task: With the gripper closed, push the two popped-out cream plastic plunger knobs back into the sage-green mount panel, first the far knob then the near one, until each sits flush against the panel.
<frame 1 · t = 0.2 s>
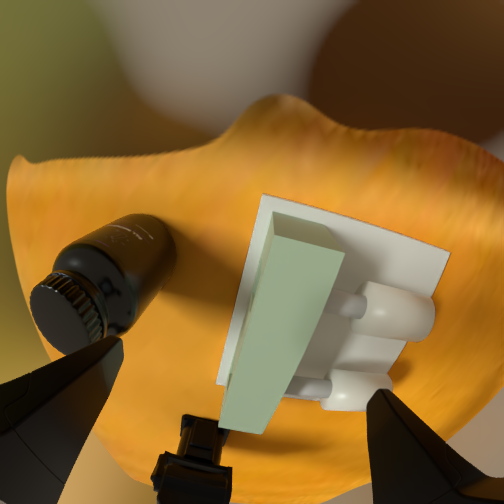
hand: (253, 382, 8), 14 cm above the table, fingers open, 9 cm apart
knob a: (330, 389, 22), point 4 cm above the table, slide at 5.0 cm
mount: (320, 323, 24), on the table
knob b: (363, 307, 19), point 4 cm above the table, slide at 4.0 cm
supplement bottle: (143, 249, 23), on the table
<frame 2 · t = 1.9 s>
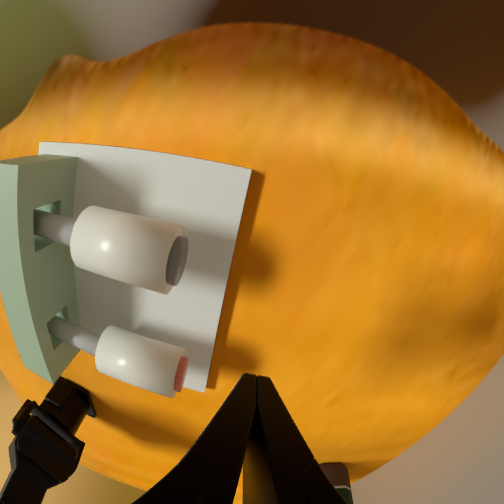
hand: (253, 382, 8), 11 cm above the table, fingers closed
beer bottle: (322, 469, 31), on the table
knob a: (109, 349, 18), point 4 cm above the table, slide at 5.0 cm
mount: (106, 271, 20), on the table
knob b: (91, 237, 15), point 4 cm above the table, slide at 4.0 cm
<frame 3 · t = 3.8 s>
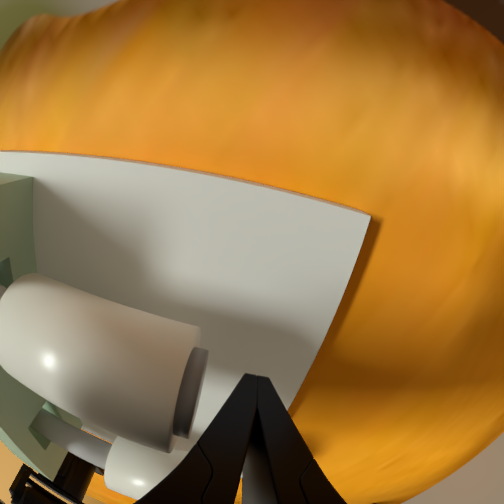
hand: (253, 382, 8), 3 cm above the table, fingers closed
knob a: (120, 462, 10), point 4 cm above the table, slide at 5.0 cm
mount: (100, 354, 12), on the table
knob b: (33, 329, 7), point 4 cm above the table, slide at 2.5 cm, touching gripper
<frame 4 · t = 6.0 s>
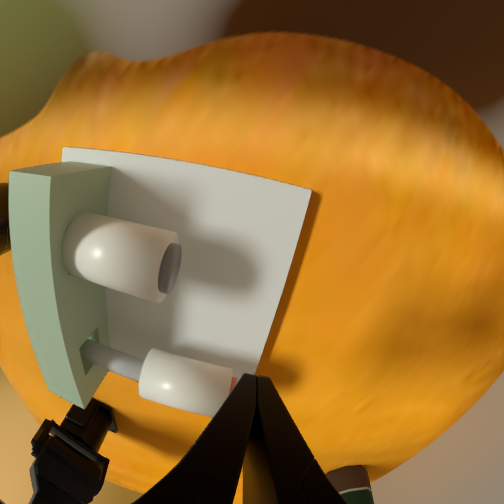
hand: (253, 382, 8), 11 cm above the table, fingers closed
beer bottle: (343, 472, 30), on the table
knob a: (150, 373, 17), point 4 cm above the table, slide at 5.0 cm
mount: (143, 290, 20), on the table
knob b: (83, 244, 14), point 4 cm above the table, slide at 0.0 cm, touching mount
supplement bottle: (9, 214, 18), on the table
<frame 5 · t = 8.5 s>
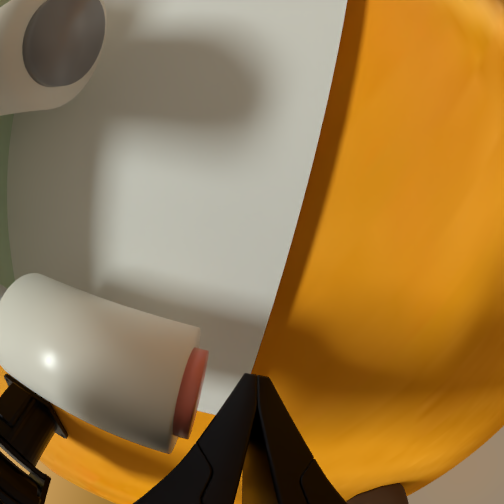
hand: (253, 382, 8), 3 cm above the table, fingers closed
beer bottle: (374, 493, 19), on the table
knob a: (33, 329, 7), point 4 cm above the table, slide at 4.9 cm, touching gripper
mount: (55, 175, 9), on the table
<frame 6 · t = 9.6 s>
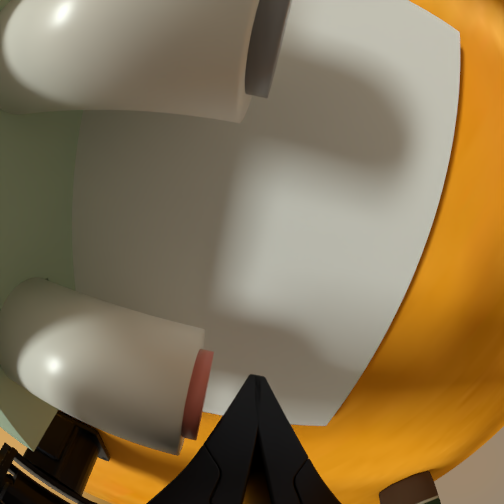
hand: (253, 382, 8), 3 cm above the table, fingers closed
beer bottle: (404, 482, 20), on the table
knob a: (35, 334, 7), point 4 cm above the table, slide at 0.0 cm, touching gripper, mount
mount: (150, 193, 9), on the table
knob b: (40, 44, 4), point 4 cm above the table, slide at 0.0 cm, touching mount
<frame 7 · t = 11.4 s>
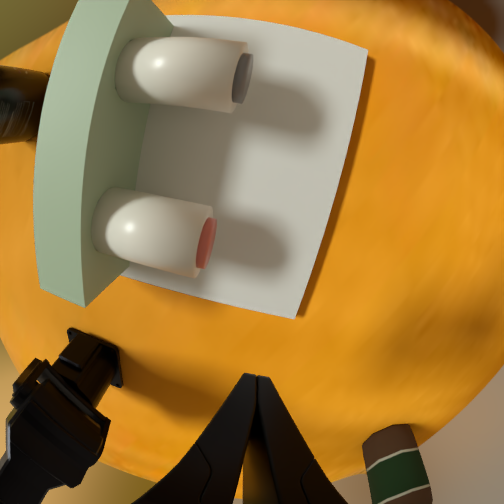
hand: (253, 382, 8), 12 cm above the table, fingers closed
beer bottle: (386, 436, 27), on the table
knob a: (112, 220, 15), point 4 cm above the table, slide at 0.0 cm, touching mount
mount: (186, 150, 17), on the table
knob b: (137, 69, 11), point 4 cm above the table, slide at 0.0 cm, touching mount
supplement bottle: (33, 106, 16), on the table
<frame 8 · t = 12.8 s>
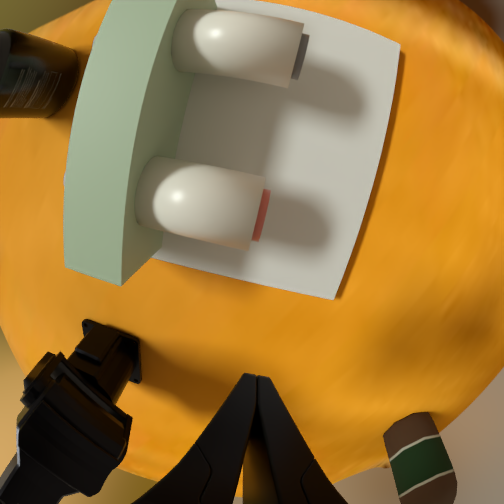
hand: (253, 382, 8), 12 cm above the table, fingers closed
beer bottle: (406, 425, 27), on the table
knob a: (154, 192, 14), point 4 cm above the table, slide at 0.0 cm, touching mount
mount: (230, 127, 16), on the table
knob b: (190, 40, 11), point 4 cm above the table, slide at 0.0 cm, touching mount
supplement bottle: (55, 82, 15), on the table
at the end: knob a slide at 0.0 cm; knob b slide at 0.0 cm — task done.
